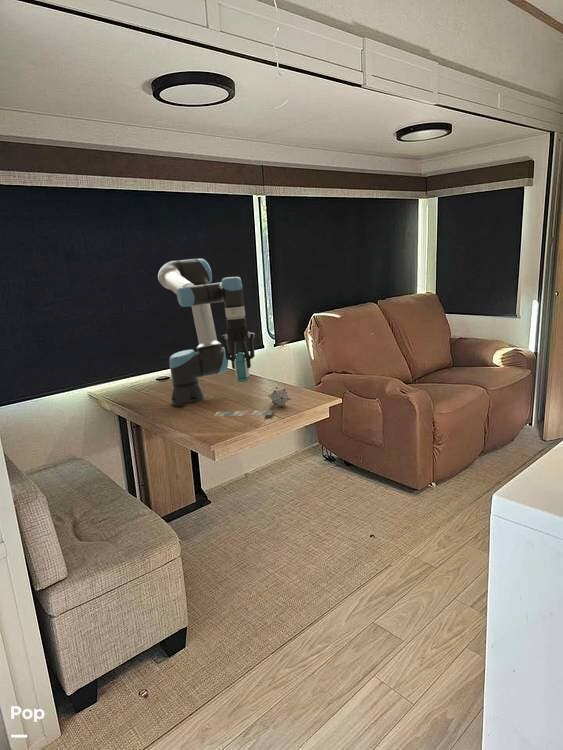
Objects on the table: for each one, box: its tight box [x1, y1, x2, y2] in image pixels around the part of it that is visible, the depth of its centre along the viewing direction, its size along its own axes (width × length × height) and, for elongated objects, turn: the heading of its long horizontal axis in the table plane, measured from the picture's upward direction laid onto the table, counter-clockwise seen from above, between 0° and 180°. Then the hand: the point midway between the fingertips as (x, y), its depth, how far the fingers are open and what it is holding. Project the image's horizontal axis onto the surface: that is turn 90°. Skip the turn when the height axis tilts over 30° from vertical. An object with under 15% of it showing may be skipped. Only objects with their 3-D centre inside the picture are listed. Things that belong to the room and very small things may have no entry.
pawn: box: [235, 352, 249, 383], centre depth 198 cm, size 4×4×12 cm
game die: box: [267, 386, 291, 409], centre depth 211 cm, size 9×8×10 cm
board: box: [213, 409, 275, 419], centre depth 203 cm, size 24×6×1 cm, turn 81°
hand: (242, 376), depth 199 cm, fingers closed on pawn, 3 cm apart
